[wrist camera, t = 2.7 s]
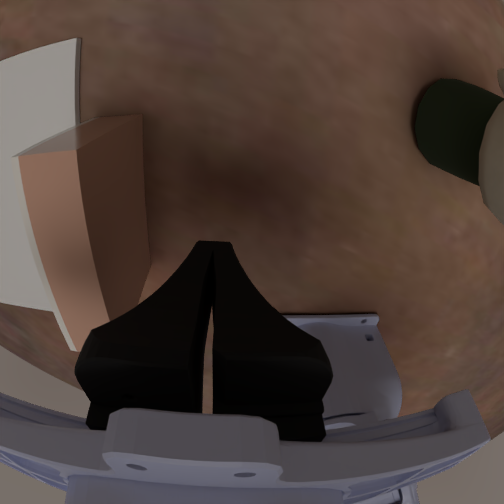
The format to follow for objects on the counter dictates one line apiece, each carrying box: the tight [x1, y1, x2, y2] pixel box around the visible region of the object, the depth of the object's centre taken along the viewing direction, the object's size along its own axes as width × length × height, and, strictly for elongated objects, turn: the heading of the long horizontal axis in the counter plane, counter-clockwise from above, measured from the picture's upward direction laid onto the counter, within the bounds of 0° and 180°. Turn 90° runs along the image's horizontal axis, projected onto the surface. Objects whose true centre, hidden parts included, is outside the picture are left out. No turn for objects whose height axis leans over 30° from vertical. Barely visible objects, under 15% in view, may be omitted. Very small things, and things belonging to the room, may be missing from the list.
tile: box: [11, 114, 151, 352], centre depth 14 cm, size 3×10×8 cm, turn 175°
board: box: [0, 38, 81, 311], centre depth 16 cm, size 13×20×1 cm, turn 175°
